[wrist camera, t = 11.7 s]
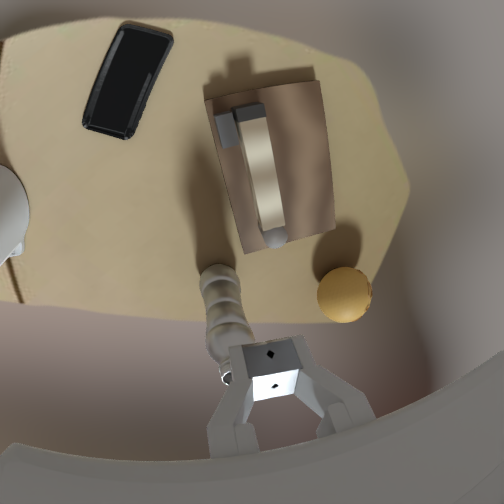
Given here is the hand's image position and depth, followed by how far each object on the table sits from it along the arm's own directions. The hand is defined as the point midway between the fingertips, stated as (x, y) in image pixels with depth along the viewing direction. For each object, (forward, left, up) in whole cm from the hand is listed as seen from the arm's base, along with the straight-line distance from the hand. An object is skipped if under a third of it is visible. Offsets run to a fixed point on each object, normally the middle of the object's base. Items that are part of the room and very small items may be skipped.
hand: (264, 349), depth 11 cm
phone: (-8, +14, -32) cm, 36 cm away
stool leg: (+6, -3, -29) cm, 30 cm away
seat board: (+8, -3, -31) cm, 32 cm away
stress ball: (+16, -27, -31) cm, 44 cm away
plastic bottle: (-4, -19, -31) cm, 37 cm away
